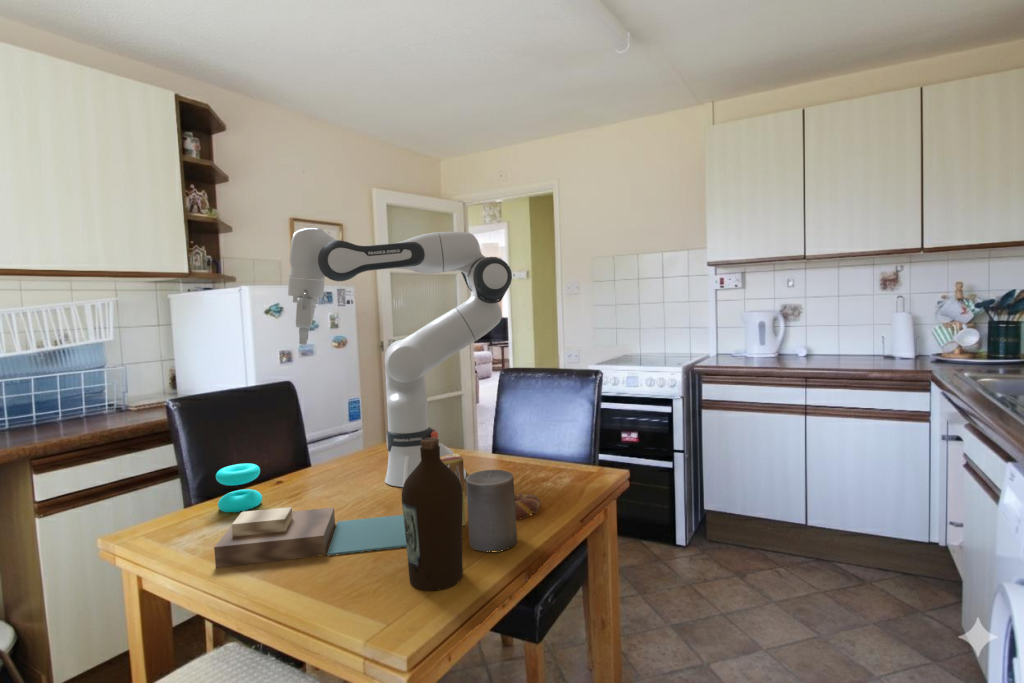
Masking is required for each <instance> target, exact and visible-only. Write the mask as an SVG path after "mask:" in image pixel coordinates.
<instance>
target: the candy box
mask: <svg viewBox="0 0 1024 683" xmlns="http://www.w3.org/2000/svg"><path fill="white" fill-rule="evenodd" d="M440 460H441V461H442V462H443V463H444V464H445V465H446V466H447V467H448V468H449V469H451V470H452V471H453V472H454V473H455V474H456V476H457V477H458V479H459V481H460V484H461V487H462V492H463V505H462V527H463V526H464V527H465V526H467V523H466V522H467V521H466V519H467V517H466V492H465V488H466V487H465V479H464V469H465V468H464V457H463V456H462V455H460V454H459V453H454V454H451V455H445V456H440ZM420 462H421V459H420Z"/></svg>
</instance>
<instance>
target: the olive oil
mask: <svg viewBox="0 0 1024 683" xmlns="http://www.w3.org/2000/svg"><path fill="white" fill-rule="evenodd" d="M439 440H440V439H439V437H438V438H433V437H431V438H424V439H422V440H421V448H420V452H421V462H420V463H419V464H418V466H417V467H416V468H415V469H414V470H413V472H412V473H411V474H410V475H409V476H408V478H407V479H406V481H405V483H404V486H403V487H402V490H401V508H402V515H403V517H404V526H405V536H406V546H407V547H406V555H407V564H408V567H407V568H408V577H409V579H408V580H409V583H410V584H411V585H412V587H414V588H415V587H416V589H418V590H421V589H422V591H428V590H434V591H439V590H438V589H442V590H444V589H443V588H446V587H449V586H451V587H453V586H455V585H457V584H458V583H459V582H460V581H461V580H462V579H463V575H464V573H463V571H464V569H463V567H464V566H463V565H464V564H463V563H464V562H463V526H462V505H463V492H462V487H461V484H460V481H459V479H458V477H457V476H456V474H455V473H454V472H453V471H452V470H451V469H449V468H448V467H447V466H446V465H445V464H444V463H443V462H442V461H441V460H440V446H439V444H438V443H439V442H440V441H439ZM461 578H462V579H461ZM459 580H460V581H459ZM458 581H459V582H458ZM457 582H458V583H457ZM456 583H457V584H456ZM454 584H455V585H454ZM452 585H453V586H452ZM449 588H450V587H449ZM446 589H447V588H446Z"/></svg>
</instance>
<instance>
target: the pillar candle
mask: <svg viewBox="0 0 1024 683" xmlns="http://www.w3.org/2000/svg"><path fill="white" fill-rule="evenodd" d="M464 481H465V485H466V486H465V488H466V503H467V519H468V520H467V521H468V522H467V523H468V535H469V546H470V545H471V546H470V547H472V548H474V549H473V550H475V549H476V550H475V551H479V552H483V551H485V552H484V553H487V551H488V552H489V551H490V552H492V551H501V550H504V549H507V548H510V547H512V546H513V545H514V546H515V545H516V544H517V543H518V538H517V535H518V534H517V530H518V529H517V520H516V510H515V495H516V494H515V481H514V474H513V473H512V472H510V471H508V470H500V469H487V470H486V469H484V470H479V471H476V472H472V473H471V474H469V475H466V478H465V479H464ZM514 546H513V547H514ZM513 547H512V548H513ZM472 548H471V549H472ZM510 549H511V548H510ZM501 552H502V551H501Z"/></svg>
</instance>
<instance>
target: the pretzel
mask: <svg viewBox="0 0 1024 683" xmlns="http://www.w3.org/2000/svg"><path fill="white" fill-rule="evenodd" d="M540 506H541V500H540V499H539V497H538V496H536V495H535V494H530V493H529V494H525V493H519V494H515V510H516V519H517V520H521V519H520V518H523V519H525V518H527V517H528V515H530V514H532V513H535V514H537V513H538V512H539V510H540ZM536 512H537V513H536ZM532 515H533V514H532ZM526 516H527V517H526ZM530 516H531V515H530ZM524 517H525V518H524Z"/></svg>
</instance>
